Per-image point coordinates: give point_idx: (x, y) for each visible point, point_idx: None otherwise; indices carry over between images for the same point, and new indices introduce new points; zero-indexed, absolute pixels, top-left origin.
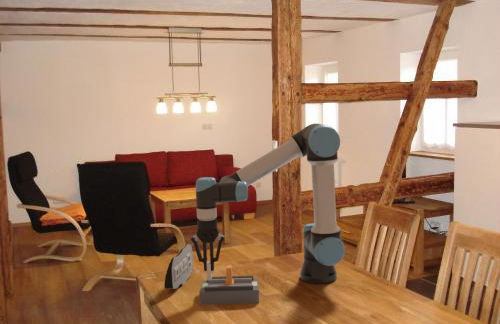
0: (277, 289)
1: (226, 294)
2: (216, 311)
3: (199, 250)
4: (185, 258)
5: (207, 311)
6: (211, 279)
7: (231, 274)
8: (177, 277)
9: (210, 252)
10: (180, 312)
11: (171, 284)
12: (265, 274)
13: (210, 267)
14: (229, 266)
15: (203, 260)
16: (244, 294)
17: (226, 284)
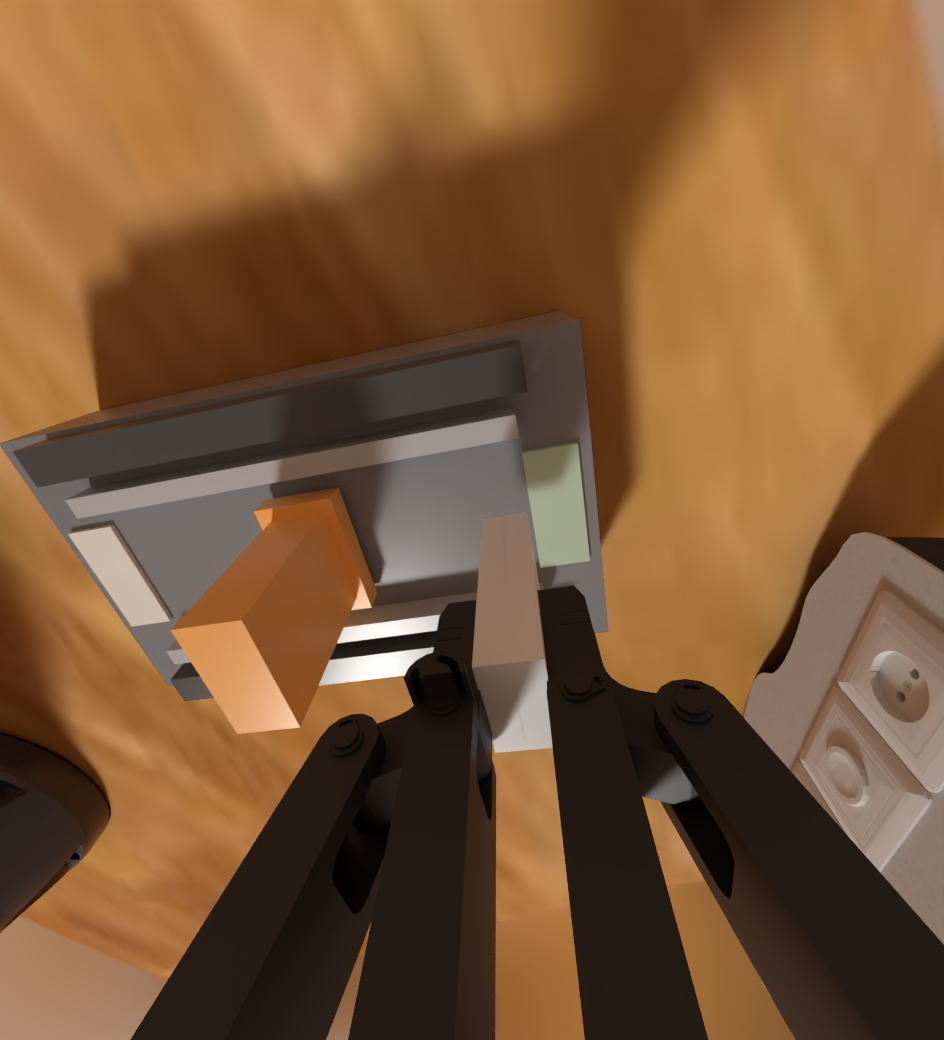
0: (122, 647)
1: (302, 375)
2: (358, 148)
3: (838, 1035)
4: None
5: (446, 133)
6: None
7: (223, 575)
8: (864, 652)
9: (446, 933)
10: (731, 48)
11: (908, 546)
12: None
13: (478, 617)
14: (234, 685)
15: (617, 707)
16: (147, 407)
17: (320, 498)
